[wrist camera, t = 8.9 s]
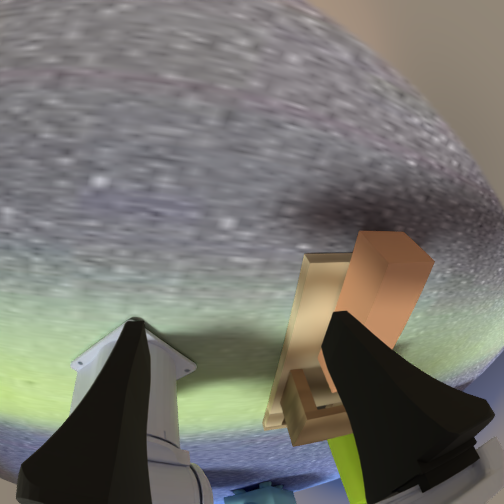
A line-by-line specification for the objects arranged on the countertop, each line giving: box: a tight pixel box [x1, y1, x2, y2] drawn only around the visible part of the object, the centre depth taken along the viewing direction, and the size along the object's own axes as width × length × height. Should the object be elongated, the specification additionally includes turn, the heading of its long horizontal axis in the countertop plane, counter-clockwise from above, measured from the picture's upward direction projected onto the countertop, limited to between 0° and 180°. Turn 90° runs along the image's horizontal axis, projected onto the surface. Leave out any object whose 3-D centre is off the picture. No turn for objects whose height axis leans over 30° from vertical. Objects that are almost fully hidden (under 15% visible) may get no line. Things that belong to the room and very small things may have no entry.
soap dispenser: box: [327, 433, 367, 504], centre depth 35 cm, size 6×7×20 cm
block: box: [318, 231, 435, 393], centre depth 22 cm, size 13×4×4 cm, turn 175°
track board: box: [262, 253, 353, 431], centre depth 29 cm, size 25×10×1 cm, turn 175°
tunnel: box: [280, 369, 353, 447], centre depth 28 cm, size 6×8×6 cm
